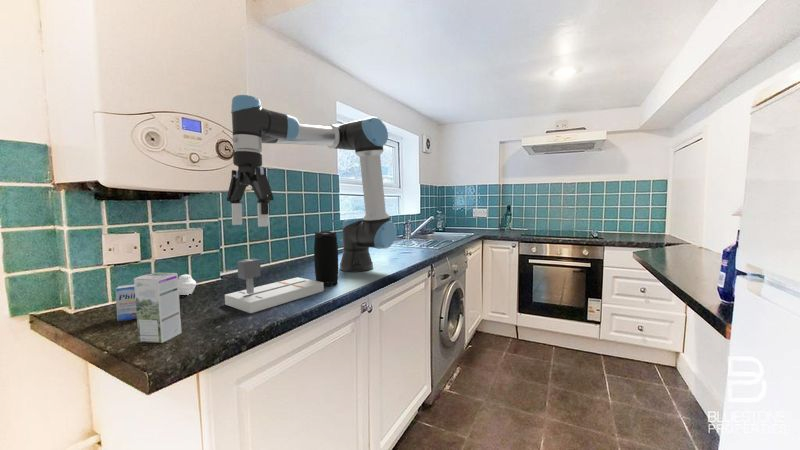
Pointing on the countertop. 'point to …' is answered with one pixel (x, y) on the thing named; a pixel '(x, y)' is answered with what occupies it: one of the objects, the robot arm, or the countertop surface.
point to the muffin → (186, 284)
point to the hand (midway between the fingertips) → (249, 225)
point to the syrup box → (157, 307)
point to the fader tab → (249, 272)
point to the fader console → (273, 294)
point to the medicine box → (125, 302)
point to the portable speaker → (326, 257)
